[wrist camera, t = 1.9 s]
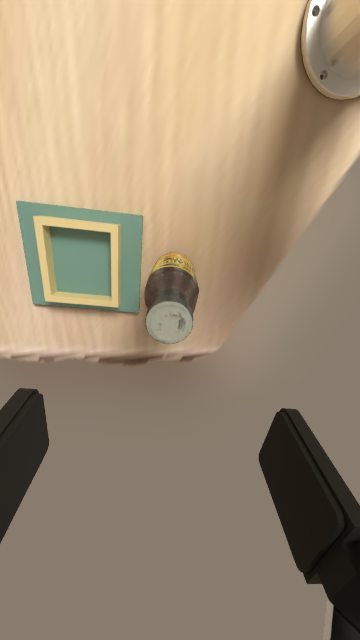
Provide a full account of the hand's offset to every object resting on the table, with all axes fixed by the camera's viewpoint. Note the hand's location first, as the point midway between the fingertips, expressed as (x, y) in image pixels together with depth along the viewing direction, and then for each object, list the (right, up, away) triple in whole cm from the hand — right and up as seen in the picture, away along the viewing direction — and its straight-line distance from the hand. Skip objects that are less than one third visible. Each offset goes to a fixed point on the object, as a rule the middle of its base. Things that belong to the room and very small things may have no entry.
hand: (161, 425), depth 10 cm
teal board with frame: (-14, +13, +27) cm, 33 cm away
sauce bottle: (-1, +12, +28) cm, 31 cm away
